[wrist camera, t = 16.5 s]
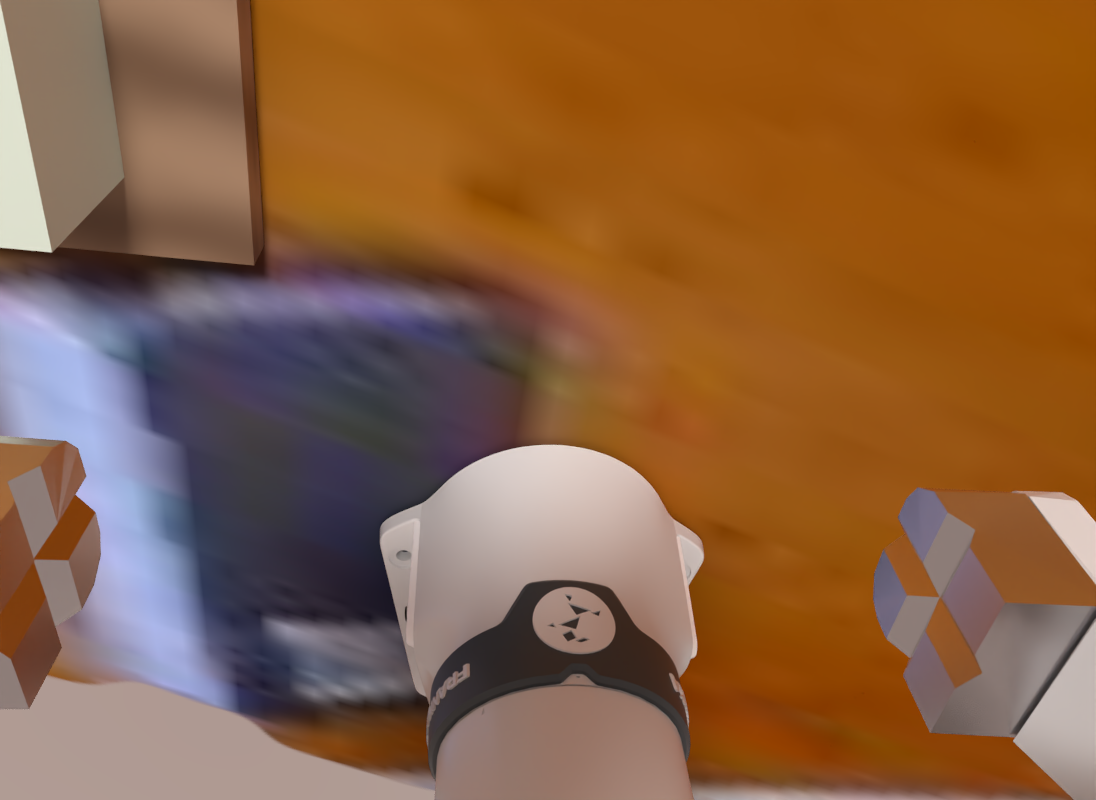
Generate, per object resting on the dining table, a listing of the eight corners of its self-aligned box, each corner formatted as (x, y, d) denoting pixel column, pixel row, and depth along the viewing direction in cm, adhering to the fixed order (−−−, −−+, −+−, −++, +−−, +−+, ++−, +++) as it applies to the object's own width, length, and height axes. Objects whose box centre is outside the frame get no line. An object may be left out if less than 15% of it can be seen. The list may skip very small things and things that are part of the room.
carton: (92, -42, 30) (-2, -4, 25) (124, 177, 35) (52, 252, 29) (-38, -59, 30) (-164, -25, 24) (12, 165, 34) (-84, 239, 29)
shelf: (264, 245, 39) (237, 298, 35) (-80, 212, 37) (-150, 264, 33) (241, -144, 30) (202, -134, 26) (-205, -210, 29) (-320, -210, 25)
